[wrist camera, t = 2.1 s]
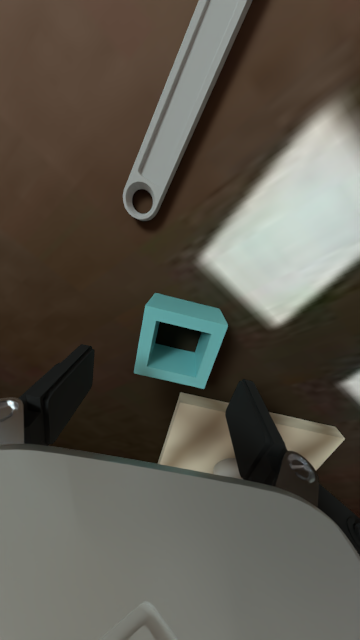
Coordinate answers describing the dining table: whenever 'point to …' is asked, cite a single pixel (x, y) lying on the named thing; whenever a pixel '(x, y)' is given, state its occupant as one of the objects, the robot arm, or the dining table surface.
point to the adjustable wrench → (184, 98)
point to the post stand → (215, 442)
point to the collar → (172, 360)
